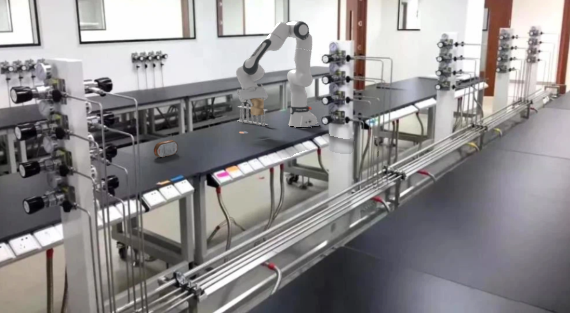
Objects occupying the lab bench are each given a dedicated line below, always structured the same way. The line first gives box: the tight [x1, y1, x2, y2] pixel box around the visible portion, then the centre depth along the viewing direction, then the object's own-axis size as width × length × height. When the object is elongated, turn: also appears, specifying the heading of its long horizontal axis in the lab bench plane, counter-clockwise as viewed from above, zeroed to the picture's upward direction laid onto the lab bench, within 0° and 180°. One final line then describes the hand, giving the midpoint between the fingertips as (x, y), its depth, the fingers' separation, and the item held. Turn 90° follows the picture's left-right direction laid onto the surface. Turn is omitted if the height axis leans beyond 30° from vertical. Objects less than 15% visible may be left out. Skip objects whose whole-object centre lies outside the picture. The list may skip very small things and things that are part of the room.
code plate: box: [238, 130, 249, 134], centre depth 335 cm, size 21×14×1 cm, turn 112°
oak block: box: [250, 98, 265, 117], centre depth 330 cm, size 6×6×10 cm
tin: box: [153, 139, 179, 158], centre depth 281 cm, size 15×3×8 cm, turn 141°
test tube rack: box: [236, 103, 269, 127], centre depth 366 cm, size 25×4×13 cm, turn 54°
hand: (257, 105), depth 330 cm, fingers closed on oak block, 6 cm apart
